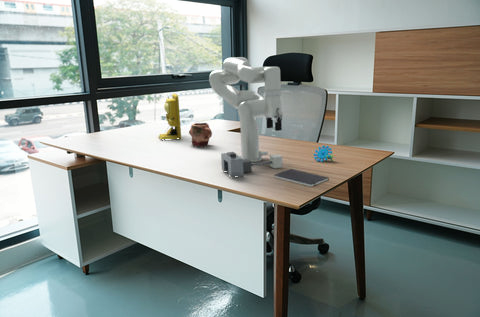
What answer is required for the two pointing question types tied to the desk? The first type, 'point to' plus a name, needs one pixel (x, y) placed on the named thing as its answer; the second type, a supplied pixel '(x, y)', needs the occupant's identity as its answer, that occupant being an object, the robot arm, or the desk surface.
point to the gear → (323, 153)
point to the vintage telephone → (172, 118)
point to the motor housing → (232, 164)
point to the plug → (274, 163)
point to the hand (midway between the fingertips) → (274, 129)
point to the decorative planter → (200, 134)
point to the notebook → (301, 177)
